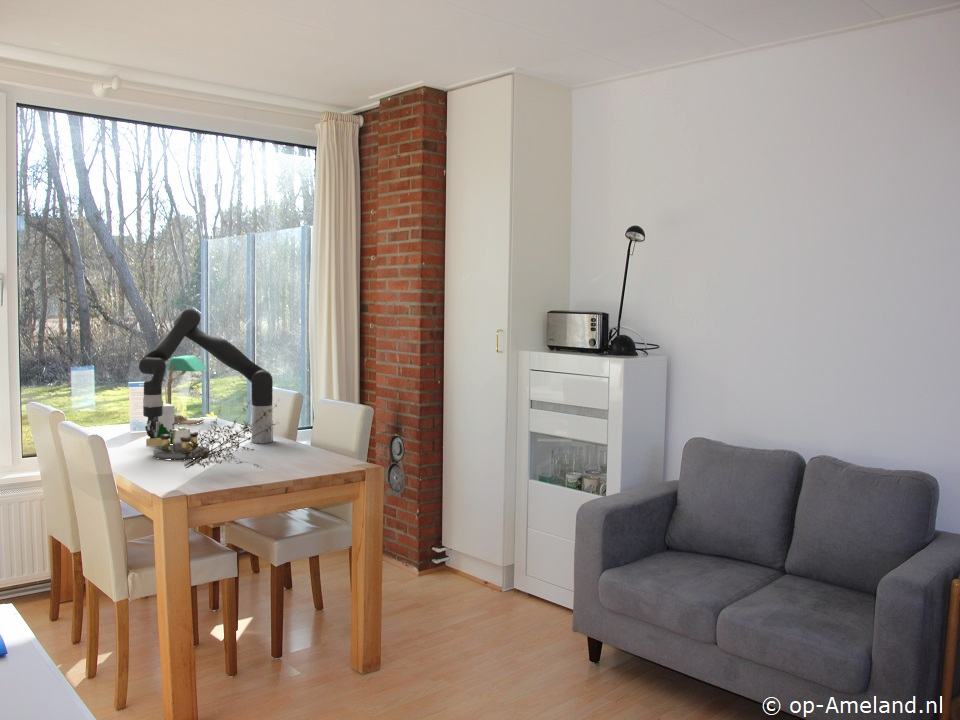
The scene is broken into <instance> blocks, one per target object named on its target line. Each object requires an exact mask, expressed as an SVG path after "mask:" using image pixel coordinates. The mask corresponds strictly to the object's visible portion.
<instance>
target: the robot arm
mask: <svg viewBox="0 0 960 720" xmlns="http://www.w3.org/2000/svg"><path fill="white" fill-rule="evenodd" d="M200 322H201V315H200V313H199V312H198V311H197V310H196V309H194V308H189V307H188V308H185V309H183V310H181V311H180V313H179V314H178V316H176V318H175V319H174V321H173V327H172V328H171V330H170V331H169V332H168V333H167V334H166V335H165V336H164V337H163V338H162V339H161V341H160V342H158V345H156V347H155V348H154V349H153V350H151V351H150V352H148V353H147V354H145V356H143V357H142V358H141V359H140V361H139V363H138V369H139V371H140V373H142V374H143V375H144V374H145V375H153V376H152V378H151V379H148V380H145V381H144V382H143V398H142V399H143V400H142V402H143V403H142V405H143V407H142V408H143V409H142V415H143V416H144V417H145V418H147V420H146V425H145V426H144V427H145V431H146V434H147V437H148V438H156V436H157V434H158V432H159V427H160V421H159V420H158V417H159V416H162V414H163V413H162V401H163V395H162V393H163V392H162V390H163V389H162V388H163V387H162V386H163V385H162V384H163V381H164V377H165V374H166V369H167V365H166V362H167V361H168V360H170V359H171V358H172V356H173V354H174V353H175V351H177V349H178V347H179V346H180V344H181V343H182V341H183V340H184V339H185V338H187V339H189V340H190V341H192V342H194V343H195V344H197V345H198V346H199V347H201V348H203V349H204V350H205V351H207V352H208V353H209V354H211V355H212V356H213V357H214V358H216V359H217V360H218V361H220V362H221V363H222V364H224V365H225V366H227V367H229V368H230V369H232V370H235V372H238V373H240V374H241V375H242V376H244V377H245V378H246V379H247V380H248V381H249V382H250V383H251V426H252V424H253V423H254V422H255V423H254V424H253V426H252V428H254V429H252V428H251V429H252V430H251V432H252V433H251V437H252V436H253V437H252V438H254V437H255V439H252V438H251V443H254V444H267V443H268V444H271V443H272V442H273V441H274V425H272V424H274V420H273V412H268V411H267V410H271V409H272V410H273V391H274V389H273V383H274V382H273V376H272V374H271V373H270V371H268V370H266V369H264V368H262V367H261V366H259V365H258V364H256V363H254V362H253V361H252V360H251V359H249V358H248V357H247V355H245V354H244V352H242V351H241V350H240V349H238V348H237V347H236V346H235V345H234V344H233V343H231V342H229V341H228V340H227V339H225V338H222V337H218V336H215V335H211V334H208V333H206V332H205V331H203V330H201V329H200V328H199V327H198V326H199V324H200ZM262 411H264V412H265V411H266V413H267V412H268V413H267V414H266V415H268V416H267V417H266V415H264V414H263V412H262ZM259 413H260V415H259ZM263 415H264V416H263ZM262 416H263V418H262V419H260V417H262ZM258 419H260V420H259V421H257V420H258ZM256 421H257V422H256ZM271 423H272V424H271ZM266 425H267V427H266ZM268 426H269V427H270V426H271V427H270V428H271V431H270V428H269V427H268ZM259 427H261V428H259ZM268 428H269V429H268ZM265 429H268V430H267V431H268V433H267V431H266V430H265ZM264 430H265V431H264ZM262 431H263V432H262ZM260 432H261V433H260ZM258 433H259V434H258ZM256 434H257V435H256ZM266 434H267V435H266ZM254 435H255V436H254ZM252 440H253V441H252Z"/></svg>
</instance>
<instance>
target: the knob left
mask: <svg viewBox="0 0 960 720" xmlns="http://www.w3.org/2000/svg"><path fill="white" fill-rule="evenodd" d="M180 440H181V453H190V450H191V449H192V447H190V445H188V443H191V440H192V437H181V438H180ZM191 444H192V446H193V443H191ZM192 450H193V449H192Z"/></svg>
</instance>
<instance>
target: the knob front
mask: <svg viewBox="0 0 960 720" xmlns="http://www.w3.org/2000/svg"><path fill="white" fill-rule="evenodd" d="M170 438H171V434H162V435H160V438H150V437H148V438H147V437H146V439H145V441H146V442H145V443H146V444H145V446H146V447H157V446H159V447H160V448H161V450H170V446H171V445H170Z"/></svg>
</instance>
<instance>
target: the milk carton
mask: <svg viewBox="0 0 960 720" xmlns="http://www.w3.org/2000/svg"><path fill="white" fill-rule="evenodd" d="M162 413H163V414H162V416H159V417H158V420H159V421H160V427H159V432H158V434H157V436H156V438H160V435H162V434H171V438H170V444H173V429H175V424H174V414H175V405H174V404H172V403H171V404H167V403H164V401H163V400H162Z"/></svg>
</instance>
